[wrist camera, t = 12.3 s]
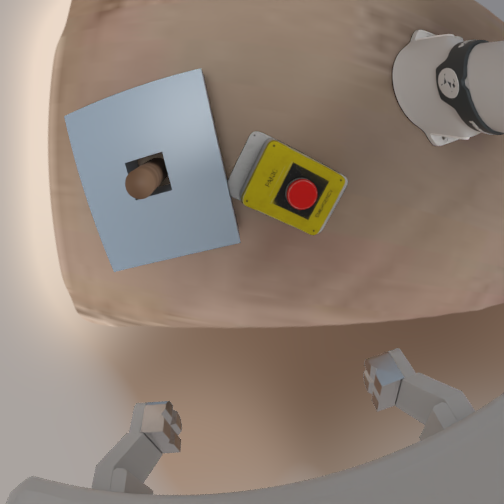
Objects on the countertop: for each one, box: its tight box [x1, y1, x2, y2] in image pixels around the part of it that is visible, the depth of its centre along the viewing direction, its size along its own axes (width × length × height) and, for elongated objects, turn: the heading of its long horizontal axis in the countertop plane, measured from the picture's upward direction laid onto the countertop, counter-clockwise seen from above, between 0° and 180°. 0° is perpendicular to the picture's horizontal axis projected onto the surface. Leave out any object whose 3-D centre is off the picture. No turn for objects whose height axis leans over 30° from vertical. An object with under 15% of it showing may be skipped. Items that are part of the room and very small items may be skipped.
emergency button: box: [228, 131, 348, 235], centre depth 38 cm, size 9×4×15 cm
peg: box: [125, 157, 168, 199], centre depth 33 cm, size 3×3×9 cm
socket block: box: [64, 68, 241, 272], centre depth 34 cm, size 17×21×5 cm
